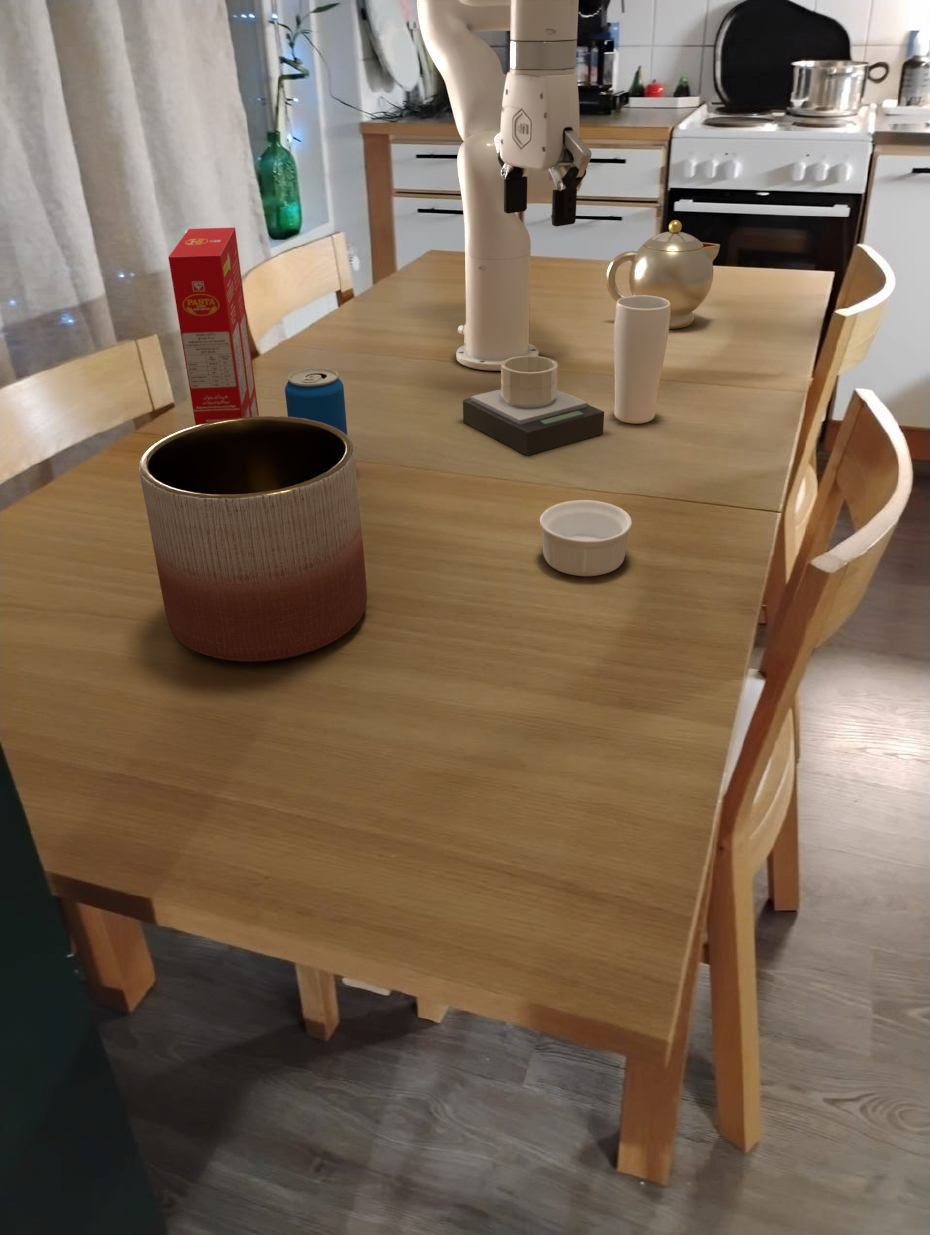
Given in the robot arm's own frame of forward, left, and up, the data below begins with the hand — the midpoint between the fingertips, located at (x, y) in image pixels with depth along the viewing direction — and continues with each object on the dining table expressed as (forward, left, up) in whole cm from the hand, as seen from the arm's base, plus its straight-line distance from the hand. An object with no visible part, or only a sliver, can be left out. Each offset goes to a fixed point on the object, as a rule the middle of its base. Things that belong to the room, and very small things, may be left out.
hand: (538, 218), depth 123 cm
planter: (+29, -52, -24) cm, 64 cm away
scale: (+6, -5, -24) cm, 25 cm away
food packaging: (-8, -40, -24) cm, 47 cm away
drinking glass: (+11, +8, -24) cm, 28 cm away
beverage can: (+4, -34, -24) cm, 42 cm away
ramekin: (+37, -22, -24) cm, 49 cm away
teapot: (-20, +41, -24) cm, 52 cm away
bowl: (+5, -5, -21) cm, 22 cm away
